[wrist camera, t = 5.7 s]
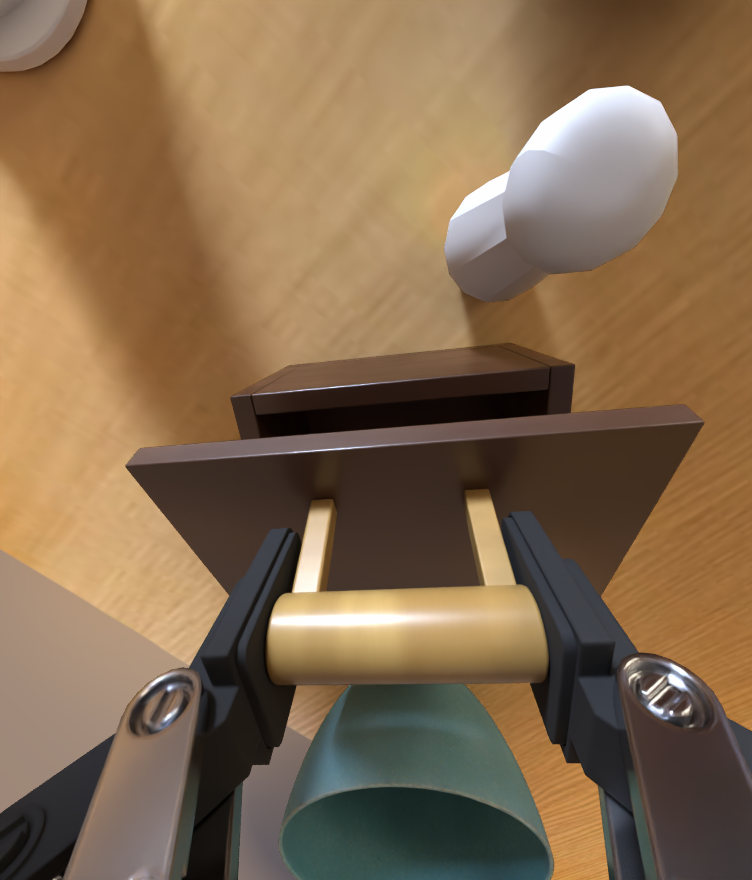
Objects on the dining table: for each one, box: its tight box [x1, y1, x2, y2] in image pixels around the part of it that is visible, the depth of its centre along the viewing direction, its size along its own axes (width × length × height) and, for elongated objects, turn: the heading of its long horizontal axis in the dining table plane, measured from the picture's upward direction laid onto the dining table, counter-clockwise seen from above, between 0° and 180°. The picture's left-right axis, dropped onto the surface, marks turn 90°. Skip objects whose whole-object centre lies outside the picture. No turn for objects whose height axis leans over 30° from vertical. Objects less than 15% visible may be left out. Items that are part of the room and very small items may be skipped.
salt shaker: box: [444, 86, 678, 302], centre depth 15 cm, size 6×6×13 cm
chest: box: [230, 343, 575, 440], centre depth 22 cm, size 17×15×9 cm
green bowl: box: [278, 684, 554, 880], centre depth 29 cm, size 18×18×12 cm
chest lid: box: [125, 404, 704, 685], centre depth 13 cm, size 18×15×5 cm
